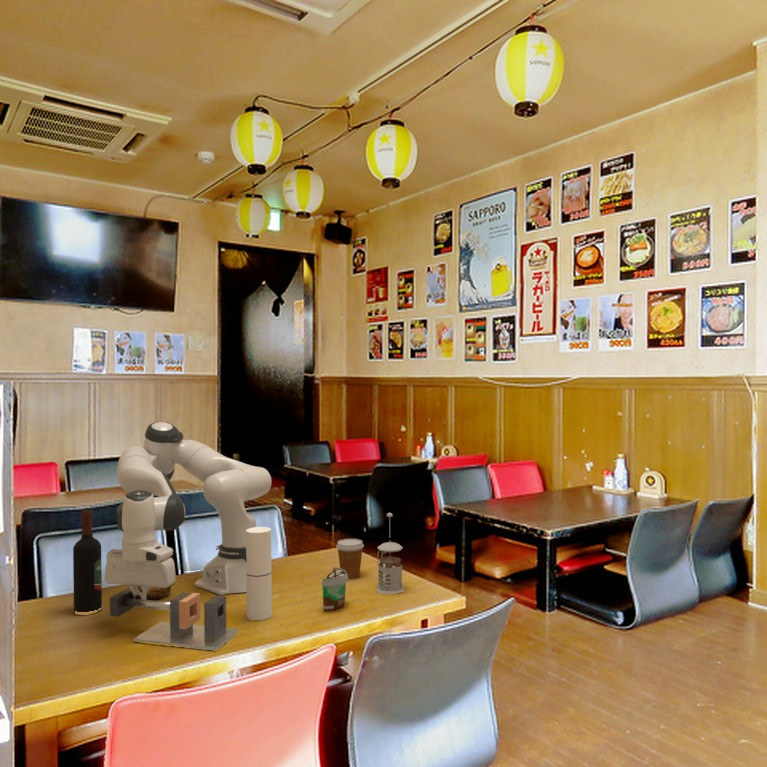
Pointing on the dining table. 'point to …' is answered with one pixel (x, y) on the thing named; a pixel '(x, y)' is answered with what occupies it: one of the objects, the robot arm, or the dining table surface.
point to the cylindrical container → (258, 573)
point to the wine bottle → (87, 568)
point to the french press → (389, 568)
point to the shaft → (132, 603)
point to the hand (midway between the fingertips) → (140, 600)
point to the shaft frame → (193, 627)
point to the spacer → (189, 610)
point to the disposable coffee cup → (350, 556)
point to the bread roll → (156, 592)
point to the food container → (334, 590)
